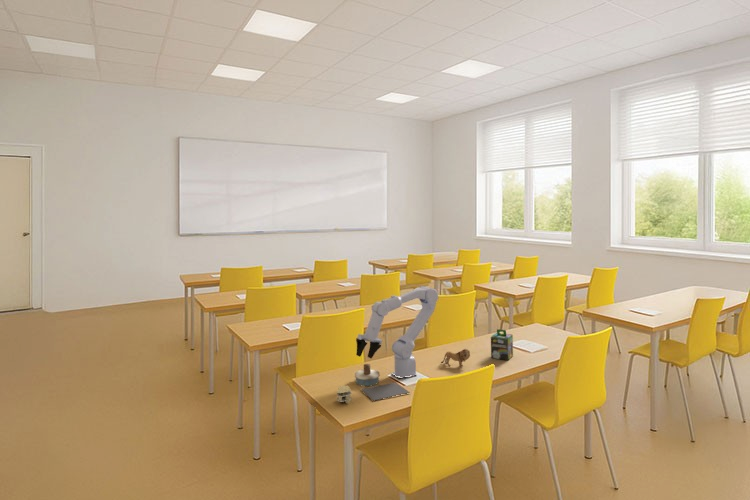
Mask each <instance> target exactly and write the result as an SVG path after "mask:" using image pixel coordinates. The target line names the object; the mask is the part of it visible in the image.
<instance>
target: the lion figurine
mask: <svg viewBox="0 0 750 500" xmlns="http://www.w3.org/2000/svg"><path fill="white" fill-rule="evenodd" d="M470 357H471V352H470V350H469V349H468V348H463V349H462V350H460V351H457V353H455V352H452V351H446V352H445V354H444V357H443V360H442V361H440V364H443V363H445V364H447V366H448V367H451V364H450V363H449V362H450V360H453V361H454V362H458V365H459V369H463V367H464V365H463V362H464V363H465V362H466V361H467V360H469V358H470Z"/></svg>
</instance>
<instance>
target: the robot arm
mask: <svg viewBox="0 0 750 500" xmlns="http://www.w3.org/2000/svg"><path fill="white" fill-rule="evenodd" d="M439 298H440V297H439V293H438V290H437V289H435V288H431V287H428V286H426V285H425V286H424V285H422V286H421V285H420V286H418V287H415V289H412V290H411V291H408V292H406V293H404V294H401V295H400V296H398V295H394V294H392V295H390V297H388V298H386V299H382V300H381V301H375V302H374V304H373V305H371V315H370V319H369V321H368V325H367V327H366V330H365V332H364V334H360V333H358V334H357V337H356V339H355V341H356V356H357V357H361V356H362V354H363V352H364V350H365V348H366V346H367V345H368V342H369V350H368V353H367V358H368V359H372V358H374V355H375V354H376V353H377V352H378V350H379V349H380V348H381V347H382V342H383V340H382V339H381V338H378V336H379V333H380V330H381V327H382V324H383V322H384V318H385V317H386V316H387V315H388V314H389V313H390V312H392V311H394V310H398V309H399V308H401V307H402V306H403V304H404V303H407V302H410V301H413V300H416V299H418V300H419V302H420V303H421V309H420V310H419V312H418V314H417V315H416V317H415V318H414V319H413V321H412V323H411V324H410V325H409V326H408V329H407V330H406V332H405V333H404V334H403V335H401V336H399V337H398V338H397V340H395V341H393V343H392V345H391V350H392V352H393V353H394V354H393V355H394V372H391V373H392V374H395V375H396V376H400V377H405V376H410V375H412V376H413V377H415V376H414V375H417V371H416V370H417V368H416V363H417V362H416V358H415V357H414V355H413V350H414V349H415V346H416V345H415V340H416V339H417V338H418V336H419V335H420V333H421V332H422V330H423V329H424V327H425V325H426V324H427V323H428V321H429V319H430V318H431V316H432V315H433V314H434V312H435V309H436V304H437V302H438V301H439ZM392 374H391V375H392Z"/></svg>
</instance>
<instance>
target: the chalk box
mask: <svg viewBox="0 0 750 500" xmlns="http://www.w3.org/2000/svg"><path fill="white" fill-rule="evenodd" d="M513 337H514V336H513V334H511V333H507V331H506V329H498V328H497V329H496V332H495V333H494V334H493V335H492V336H490V355H491V356H490V358H491V359H496V360H503V361H510V359H511V358H512V357H513V356H514V338H513Z"/></svg>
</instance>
